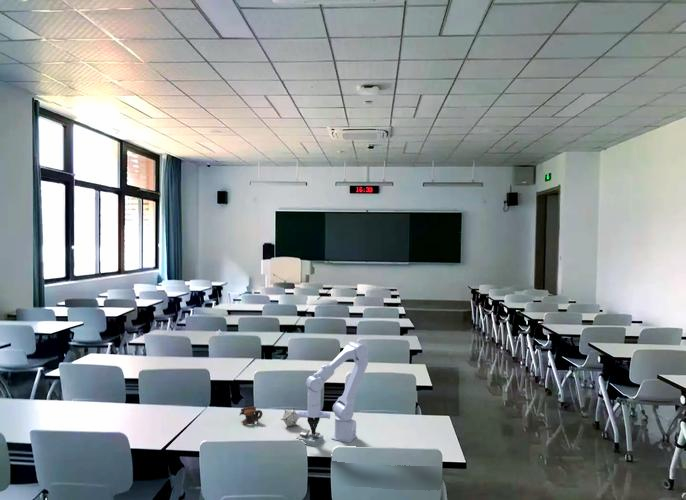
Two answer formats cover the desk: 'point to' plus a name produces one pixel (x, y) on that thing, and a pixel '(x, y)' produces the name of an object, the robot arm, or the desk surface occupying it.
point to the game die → (290, 417)
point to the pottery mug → (251, 415)
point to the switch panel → (311, 439)
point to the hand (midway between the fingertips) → (313, 433)
